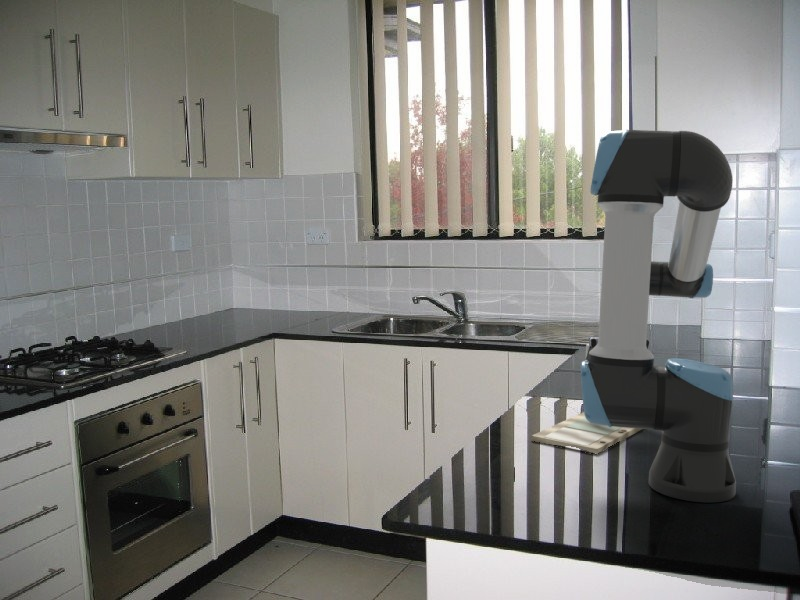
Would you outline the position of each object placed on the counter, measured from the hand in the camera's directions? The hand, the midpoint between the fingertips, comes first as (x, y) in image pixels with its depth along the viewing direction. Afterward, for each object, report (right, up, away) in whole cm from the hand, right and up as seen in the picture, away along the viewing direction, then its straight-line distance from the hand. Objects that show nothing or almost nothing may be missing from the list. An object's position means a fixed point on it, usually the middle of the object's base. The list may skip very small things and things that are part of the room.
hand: (614, 409), depth 199 cm
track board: (-7, -4, -8) cm, 11 cm away
